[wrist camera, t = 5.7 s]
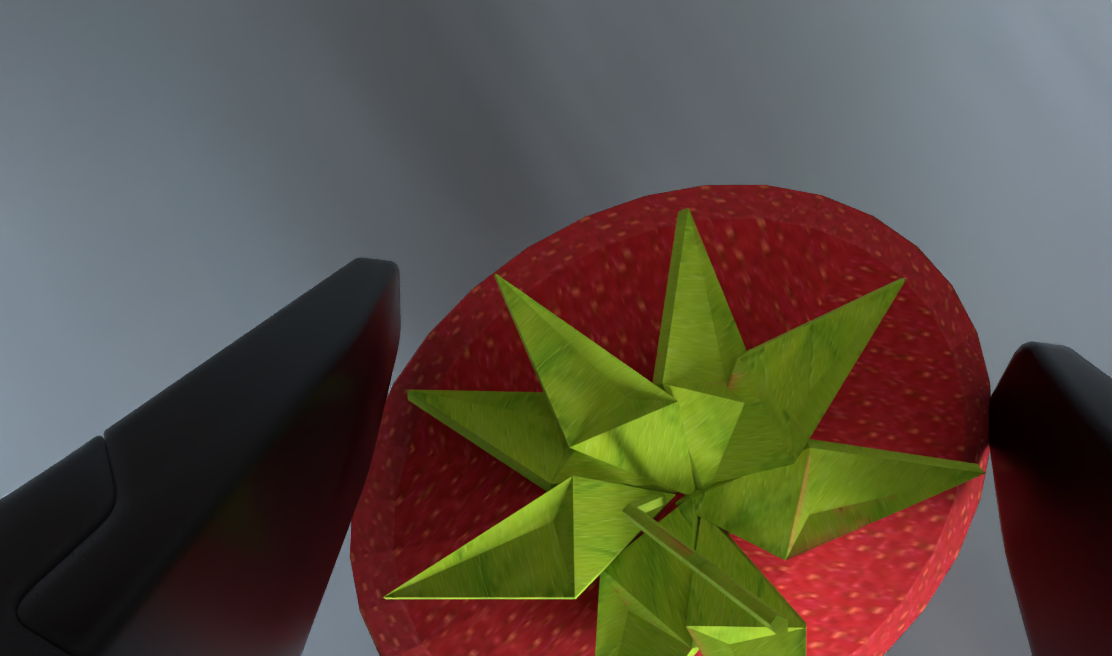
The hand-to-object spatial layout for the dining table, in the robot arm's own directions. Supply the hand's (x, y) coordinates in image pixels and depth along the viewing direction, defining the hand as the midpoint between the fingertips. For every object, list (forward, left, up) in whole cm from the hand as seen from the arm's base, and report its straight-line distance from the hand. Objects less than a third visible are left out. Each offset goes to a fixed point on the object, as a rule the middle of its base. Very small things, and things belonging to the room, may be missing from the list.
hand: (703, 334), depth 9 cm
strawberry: (-1, 0, -7) cm, 7 cm away
